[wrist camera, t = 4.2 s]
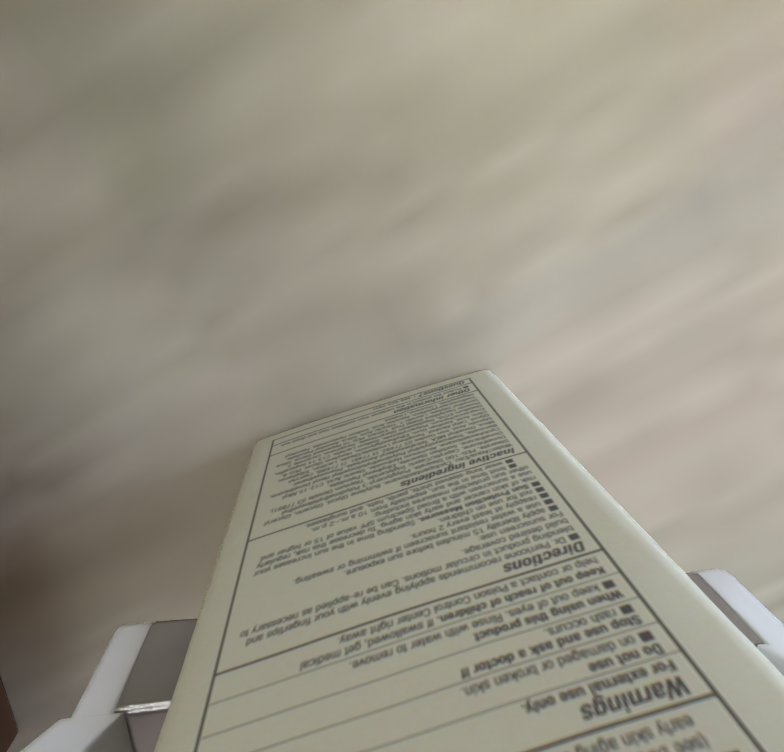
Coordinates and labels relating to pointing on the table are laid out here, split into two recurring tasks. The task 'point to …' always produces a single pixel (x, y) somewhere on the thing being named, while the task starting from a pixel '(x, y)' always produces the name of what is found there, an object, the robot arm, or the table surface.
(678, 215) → the table surface
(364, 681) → the cosmetic box
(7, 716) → the rack
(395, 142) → the table surface
